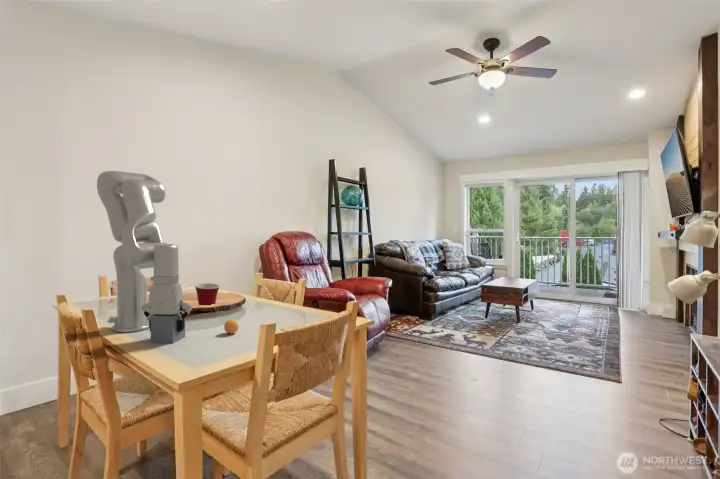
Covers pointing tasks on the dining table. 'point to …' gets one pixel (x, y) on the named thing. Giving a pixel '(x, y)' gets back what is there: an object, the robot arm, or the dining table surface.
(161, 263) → the robot arm
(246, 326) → the dining table surface
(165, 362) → the dining table surface
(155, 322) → the grey matte cube
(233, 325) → the ball
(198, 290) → the plastic cup
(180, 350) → the dining table surface
